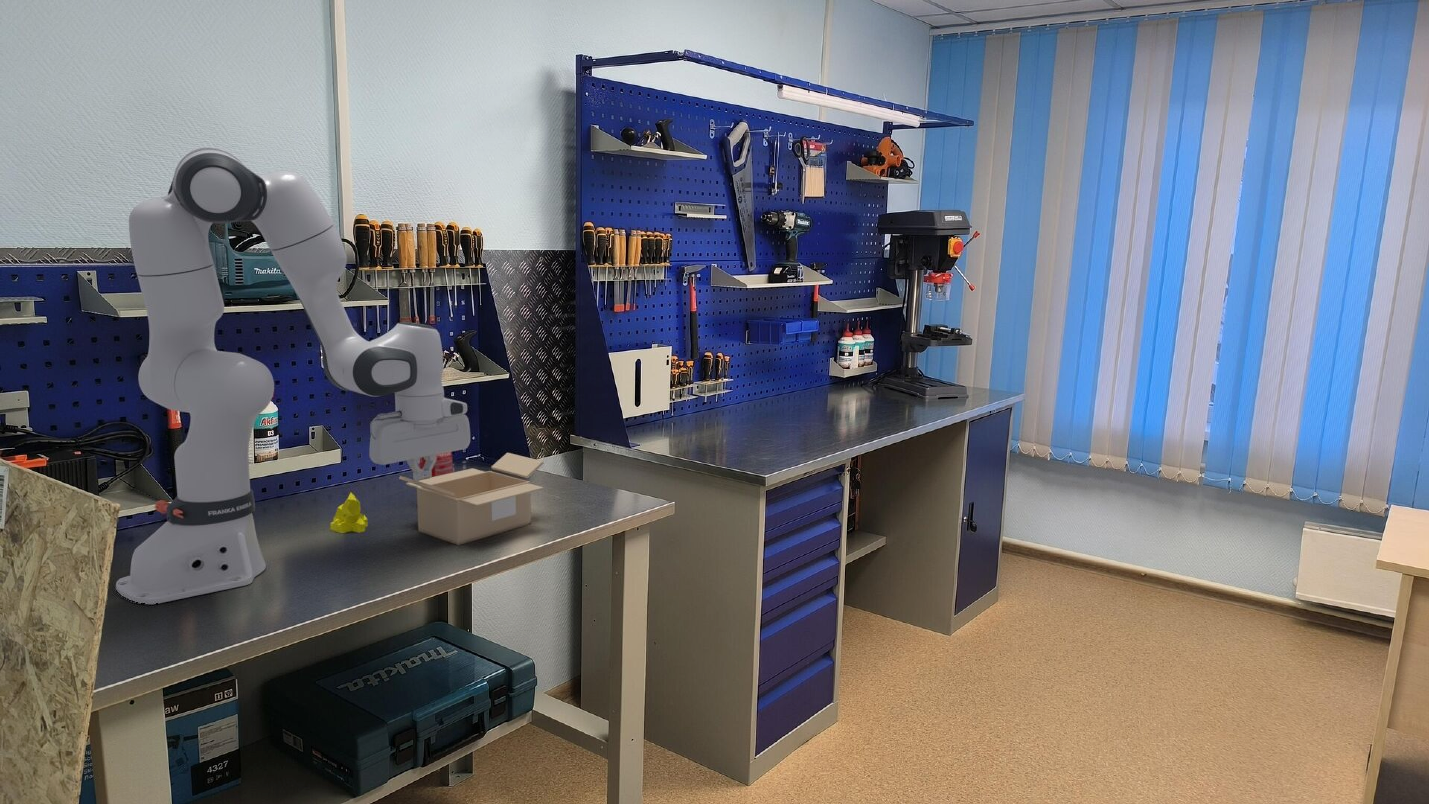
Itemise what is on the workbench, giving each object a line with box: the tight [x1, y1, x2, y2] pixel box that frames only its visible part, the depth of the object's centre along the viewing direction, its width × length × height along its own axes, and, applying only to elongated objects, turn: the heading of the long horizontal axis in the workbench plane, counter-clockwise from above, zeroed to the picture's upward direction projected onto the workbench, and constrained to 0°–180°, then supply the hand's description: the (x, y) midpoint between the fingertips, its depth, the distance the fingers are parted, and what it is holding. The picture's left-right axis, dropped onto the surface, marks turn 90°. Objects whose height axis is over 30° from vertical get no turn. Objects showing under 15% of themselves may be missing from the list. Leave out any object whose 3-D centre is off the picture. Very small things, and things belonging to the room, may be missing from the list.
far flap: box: [491, 452, 545, 479], centre depth 197 cm, size 5×11×1 cm, turn 52°
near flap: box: [398, 475, 456, 496], centre depth 180 cm, size 5×11×1 cm, turn 52°
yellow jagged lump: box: [329, 492, 369, 534], centre depth 188 cm, size 6×8×8 cm
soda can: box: [418, 451, 454, 477], centre depth 205 cm, size 7×7×13 cm
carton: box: [405, 467, 544, 546], centre depth 190 cm, size 18×23×9 cm
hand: (422, 479), depth 179 cm, fingers closed
